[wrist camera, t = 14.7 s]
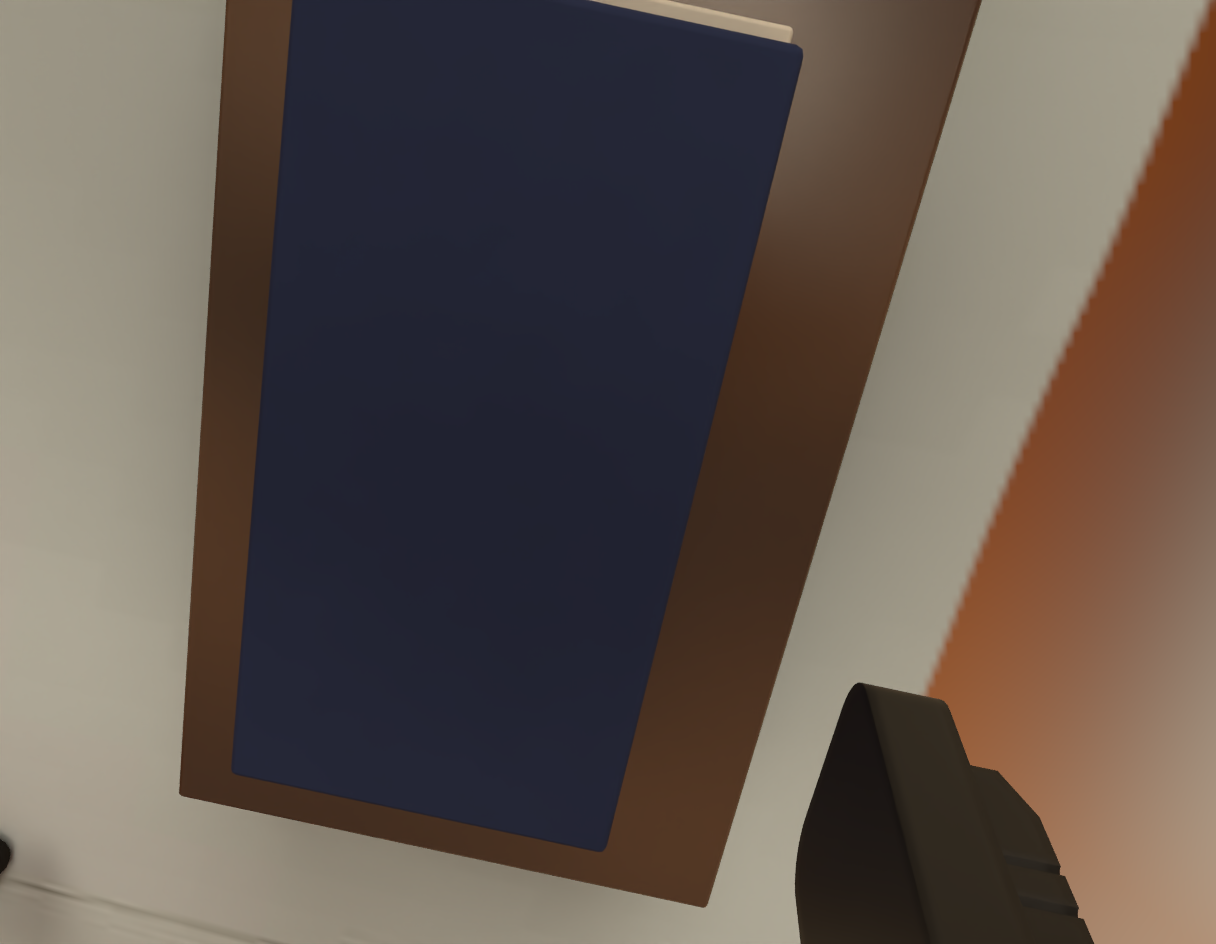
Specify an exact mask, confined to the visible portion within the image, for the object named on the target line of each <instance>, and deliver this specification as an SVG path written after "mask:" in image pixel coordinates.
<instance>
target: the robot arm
mask: <svg viewBox="0 0 1216 944" xmlns="http://www.w3.org/2000/svg"><path fill="white" fill-rule="evenodd" d="M1060 867H1061V866H1060V864H1059V862H1058V859H1057V857H1056V854H1055V852H1054V850H1053V848H1052V845H1051V843H1050V841H1049V838H1048V836H1047V834H1046V831H1045V829H1044V827H1043V824H1042V822H1041V820H1040V818H1039V816H1038V815H1037V814H1036V813H1035V812H1034V811H1033V810H1032V808H1031V807H1030V806H1029V805H1028V804H1027V803H1026V802H1025V801H1024V800H1023V799H1022V798H1021V796H1020V795H1019V794H1018V793H1017V792H1016V791H1015V790H1014V789H1013V788H1012V786H1011V785H1010V784H1009V783H1008V782H1007V781H1006V780H1005V779H1004V778H1003V777H1002V775H1001V774H1000V773H999V772H998V771H995V770H990V769H985V768H981V767H976V766H972V765H970V763H969V761H968V758H967V755H966V753H965V750H964V747H963V745H962V742H961V739H960V736H959V734H958V731H957V729H956V726H955V723H954V720H953V718H952V715H951V712H950V710H949V708H948V705H947V704H946V703H945V702H944V701H942V700H940V699H935V698H931V697H926V696H921V695H916V694H912V693H907V692H902V691H898V690H893V689H888V688H883V687H879V686H874V685H869V684H864V683H857V684H855V685H854V686H853V687H852V688H851V690H850V692H849V693H848V695H847V698H846V700H845V702H844V705H843V708H842V710H841V713H840V716H839V719H838V722H837V725H836V728H835V731H834V734H833V737H832V740H831V743H830V746H829V749H828V752H827V755H826V758H825V761H824V764H823V767H822V770H821V773H820V776H819V779H818V782H817V785H816V788H815V791H814V794H813V797H812V800H811V803H810V806H809V809H808V812H807V815H806V818H805V821H804V824H803V828H802V832H801V836H800V841H799V847H798V853H797V861H796V873H795V896H796V906H797V915H798V924H799V932H800V941H801V944H1094V942H1093V940H1092V938H1091V935H1090V933H1089V931H1088V928H1087V926H1086V924H1085V921H1084V919H1081V918H1078V909H1079V907H1078V905H1077V903H1076V901H1075V898H1074V896H1073V894H1072V891H1071V889H1070V887H1069V884H1068V882H1067V880H1066V877H1065V876H1062V875H1060Z"/></svg>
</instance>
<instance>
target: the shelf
mask: <svg viewBox="0 0 1216 944" xmlns="http://www.w3.org/2000/svg"><path fill="white" fill-rule="evenodd" d="M669 1H673V2H678V3H683V4H687V5H692V6H697V7H701V8H706V9H711V10H715V11H720V12H725V13H729V14H734V15H739V16H743V17H748V18H753V19H757V20H762V21H767V22H771V23H776V24H781V25H785V26H789V27H791V28H792V29H793V35H792V39H791V44H796V45H798V46H799V47H800V48H802V49H803V56H804V57H803V61H802V65H801V69H800V73H799V77H798V81H797V85H796V89H795V93H794V97H793V101H792V105H791V109H790V113H789V117H788V121H787V125H786V129H785V133H784V137H783V141H782V145H781V149H780V153H779V157H778V161H777V165H776V169H775V174H774V178H773V182H772V186H771V190H770V194H769V198H768V202H767V206H766V210H765V214H764V218H763V222H762V226H761V230H760V234H759V238H758V242H757V246H756V250H755V254H754V258H753V262H752V266H751V270H750V274H749V278H748V282H747V286H746V290H745V294H744V298H743V302H742V306H741V310H740V314H739V318H738V322H737V326H736V330H735V334H734V338H733V342H732V346H731V350H730V354H729V358H728V362H727V366H726V370H725V374H724V378H723V382H722V386H721V390H720V394H719V398H718V402H717V406H716V410H715V414H714V418H713V422H712V426H711V430H710V434H709V438H708V442H707V446H706V450H705V454H704V458H703V462H702V466H701V470H700V474H699V478H698V482H697V486H696V490H695V494H694V498H693V502H692V506H691V511H690V515H689V519H688V523H687V527H686V531H685V535H684V539H683V543H682V547H681V551H680V555H679V559H678V563H677V567H676V571H675V575H674V579H673V583H672V587H671V591H670V595H669V599H668V603H667V607H666V611H665V615H664V619H663V623H662V627H661V631H660V635H659V639H658V643H657V647H656V651H655V655H654V659H653V663H652V667H651V671H650V675H649V679H648V683H647V687H646V691H645V695H644V699H643V703H642V707H641V711H640V715H639V719H638V723H637V727H636V731H635V735H634V739H633V743H632V747H631V751H630V755H629V759H628V763H627V767H626V771H625V775H624V779H623V783H622V787H621V791H620V795H619V799H618V803H617V807H616V811H615V815H614V819H613V823H612V827H611V831H610V835H609V839H608V844H607V847H606V848H605V849H604V851H603V852H595V851H591V850H586V849H581V848H577V847H572V846H567V845H563V844H558V843H553V842H549V841H544V840H539V839H535V838H530V837H525V836H520V835H516V834H511V833H506V832H502V831H497V830H492V829H488V828H483V827H478V826H474V825H469V824H464V823H460V822H455V821H450V820H445V819H441V818H436V817H431V816H427V815H422V814H417V813H413V812H408V811H403V810H399V809H394V808H389V807H385V806H380V805H375V804H371V803H366V802H361V801H356V800H352V799H347V798H342V797H338V796H333V795H328V794H324V793H319V792H314V791H310V790H305V789H300V788H296V787H291V786H286V785H281V784H277V783H272V782H267V781H263V780H258V779H253V778H249V777H244V776H239V775H235V774H234V773H232V770H231V763H232V750H233V738H234V725H235V713H236V700H237V688H238V675H239V662H240V650H241V637H242V625H243V612H244V600H245V587H246V575H247V562H248V550H249V537H250V525H251V512H252V499H253V487H254V474H255V462H256V449H257V437H258V424H259V412H260V399H261V387H262V374H263V361H264V349H265V336H266V324H267V311H268V299H269V286H270V274H271V261H272V249H273V236H274V223H275V211H276V198H277V186H278V173H279V161H280V148H281V136H282V123H283V111H284V98H285V86H286V73H287V60H288V48H289V35H290V23H291V10H292V0H226V16H225V32H224V49H223V66H222V83H221V99H220V116H219V133H218V150H217V167H216V183H215V200H214V217H213V234H212V250H211V267H210V284H209V301H208V318H207V334H206V351H205V368H204V385H203V401H202V418H201V435H200V452H199V468H198V485H197V502H196V519H195V536H194V552H193V569H192V586H191V603H190V619H189V636H188V653H187V670H186V687H185V703H184V720H183V737H182V754H181V770H180V787H179V794H180V795H181V796H185V797H189V798H194V799H199V800H203V801H208V802H213V803H217V804H222V805H227V806H231V807H236V808H241V809H245V810H250V811H255V812H259V813H264V814H269V815H273V816H278V817H283V818H287V819H292V820H297V821H301V822H306V823H311V824H315V825H320V826H325V827H329V828H334V829H339V830H343V831H348V832H353V833H357V834H362V835H367V836H371V837H376V838H381V839H385V840H390V841H395V842H399V843H404V844H409V845H413V846H418V847H423V848H427V849H432V850H437V851H441V852H446V853H451V854H455V855H460V856H465V857H469V858H474V859H479V860H483V861H488V862H493V863H497V864H502V865H507V866H511V867H516V868H520V869H525V870H530V871H534V872H539V873H544V874H548V875H553V876H558V877H562V878H567V879H572V880H576V881H581V882H586V883H590V884H595V885H600V886H604V887H609V888H614V889H618V890H623V891H628V892H632V893H637V894H642V895H646V896H651V897H656V898H660V899H665V900H670V901H674V902H679V903H684V904H688V905H693V906H698V907H702V908H704V907H706V906H707V904H708V901H709V898H710V895H711V892H712V888H713V885H714V882H715V878H716V875H717V872H718V868H719V865H720V862H721V859H722V855H723V852H724V849H725V845H726V842H727V839H728V835H729V832H730V829H731V826H732V822H733V819H734V816H735V812H736V809H737V806H738V803H739V799H740V796H741V793H742V789H743V786H744V783H745V779H746V776H747V773H748V770H749V766H750V763H751V760H752V756H753V753H754V750H755V747H756V743H757V740H758V737H759V733H760V730H761V727H762V723H763V720H764V717H765V714H766V710H767V707H768V704H769V700H770V697H771V694H772V691H773V687H774V684H775V681H776V677H777V674H778V671H779V667H780V664H781V661H782V658H783V654H784V651H785V648H786V644H787V641H788V638H789V634H790V631H791V628H792V625H793V621H794V618H795V615H796V611H797V608H798V605H799V602H800V598H801V595H802V592H803V588H804V585H805V582H806V578H807V575H808V572H809V569H810V565H811V562H812V559H813V555H814V552H815V549H816V546H817V542H818V539H819V536H820V532H821V529H822V526H823V522H824V519H825V516H826V513H827V509H828V506H829V503H830V499H831V496H832V493H833V490H834V486H835V483H836V480H837V476H838V473H839V470H840V466H841V463H842V460H843V457H844V453H845V450H846V447H847V443H848V440H849V437H850V433H851V430H852V427H853V424H854V420H855V417H856V414H857V410H858V407H859V404H860V401H861V397H862V394H863V391H864V387H865V384H866V381H867V377H868V374H869V371H870V368H871V364H872V361H873V358H874V354H875V351H876V348H877V345H878V341H879V338H880V335H881V331H882V328H883V325H884V321H885V318H886V315H887V312H888V308H889V305H890V302H891V298H892V295H893V292H894V288H895V285H896V282H897V279H898V275H899V272H900V269H901V265H902V262H903V259H904V256H905V252H906V249H907V246H908V242H909V239H910V236H911V232H912V229H913V226H914V223H915V219H916V216H917V213H918V209H919V206H920V203H921V200H922V196H923V193H924V190H925V186H926V183H927V180H928V176H929V173H930V170H931V167H932V163H933V160H934V157H935V153H936V150H937V147H938V144H939V140H940V137H941V134H942V130H943V127H944V124H945V120H946V117H947V114H948V111H949V107H950V104H951V101H952V97H953V94H954V91H955V87H956V84H957V81H958V78H959V74H960V71H961V68H962V64H963V61H964V58H965V55H966V51H967V48H968V45H969V41H970V38H971V35H972V31H973V28H974V25H975V22H976V18H977V15H978V12H979V8H980V5H981V2H982V0H669Z"/></svg>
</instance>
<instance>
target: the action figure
mask: <svg viewBox="0 0 1216 944" xmlns="http://www.w3.org/2000/svg"><path fill="white" fill-rule="evenodd" d="M9 859H10V849H9V847H8V846H7V844H6V843H5V842H4V841H2V840H1V839H0V874H1V872H2V871H3V870H4V869H5V868H6V867H7V864H8V861H9Z"/></svg>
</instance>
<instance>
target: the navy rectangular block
mask: <svg viewBox="0 0 1216 944" xmlns="http://www.w3.org/2000/svg"><path fill="white" fill-rule="evenodd" d="M792 35H793V29H792V28H791V27H789V26H785V25H781V24H776V23H771V22H767V21H762V20H757V19H753V18H748V17H743V16H739V15H734V14H729V13H725V12H720V11H715V10H711V9H706V8H701V7H697V6H692V5H687V4H683V3H678V2H673V1H669V0H292V10H291V23H290V35H289V48H288V60H287V73H286V86H285V98H284V111H283V123H282V136H281V148H280V161H279V173H278V186H277V198H276V211H275V223H274V236H273V249H272V261H271V274H270V286H269V299H268V311H267V324H266V336H265V349H264V361H263V374H262V387H261V399H260V412H259V424H258V437H257V449H256V462H255V474H254V487H253V499H252V512H251V525H250V537H249V550H248V562H247V575H246V587H245V600H244V612H243V625H242V637H241V650H240V662H239V675H238V688H237V700H236V713H235V725H234V738H233V750H232V763H231V770H232V773H234V774H235V775H239V776H244V777H249V778H253V779H258V780H263V781H267V782H272V783H277V784H281V785H286V786H291V787H296V788H300V789H305V790H310V791H314V792H319V793H324V794H328V795H333V796H338V797H342V798H347V799H352V800H356V801H361V802H366V803H371V804H375V805H380V806H385V807H389V808H394V809H399V810H403V811H408V812H413V813H417V814H422V815H427V816H431V817H436V818H441V819H445V820H450V821H455V822H460V823H464V824H469V825H474V826H478V827H483V828H488V829H492V830H497V831H502V832H506V833H511V834H516V835H520V836H525V837H530V838H535V839H539V840H544V841H549V842H553V843H558V844H563V845H567V846H572V847H577V848H581V849H586V850H591V851H595V852H603V851H604V849H605V848H606V847H607V844H608V839H609V835H610V831H611V827H612V823H613V819H614V815H615V811H616V807H617V803H618V799H619V795H620V791H621V787H622V783H623V779H624V775H625V771H626V767H627V763H628V759H629V755H630V751H631V747H632V743H633V739H634V735H635V731H636V727H637V723H638V719H639V715H640V711H641V707H642V703H643V699H644V695H645V691H646V687H647V683H648V679H649V675H650V671H651V667H652V663H653V659H654V655H655V651H656V647H657V643H658V639H659V635H660V631H661V627H662V623H663V619H664V615H665V611H666V607H667V603H668V599H669V595H670V591H671V587H672V583H673V579H674V575H675V571H676V567H677V563H678V559H679V555H680V551H681V547H682V543H683V539H684V535H685V531H686V527H687V523H688V519H689V515H690V511H691V506H692V502H693V498H694V494H695V490H696V486H697V482H698V478H699V474H700V470H701V466H702V462H703V458H704V454H705V450H706V446H707V442H708V438H709V434H710V430H711V426H712V422H713V418H714V414H715V410H716V406H717V402H718V398H719V394H720V390H721V386H722V382H723V378H724V374H725V370H726V366H727V362H728V358H729V354H730V350H731V346H732V342H733V338H734V334H735V330H736V326H737V322H738V318H739V314H740V310H741V306H742V302H743V298H744V294H745V290H746V286H747V282H748V278H749V274H750V270H751V266H752V262H753V258H754V254H755V250H756V246H757V242H758V238H759V234H760V230H761V226H762V222H763V218H764V214H765V210H766V206H767V202H768V198H769V194H770V190H771V186H772V182H773V178H774V174H775V169H776V165H777V161H778V157H779V153H780V149H781V145H782V141H783V137H784V133H785V129H786V125H787V121H788V117H789V113H790V109H791V105H792V101H793V97H794V93H795V89H796V85H797V81H798V77H799V73H800V69H801V65H802V61H803V57H804V56H803V49H802V48H800V47H799V46H798V45H796V44H791V39H792Z"/></svg>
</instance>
